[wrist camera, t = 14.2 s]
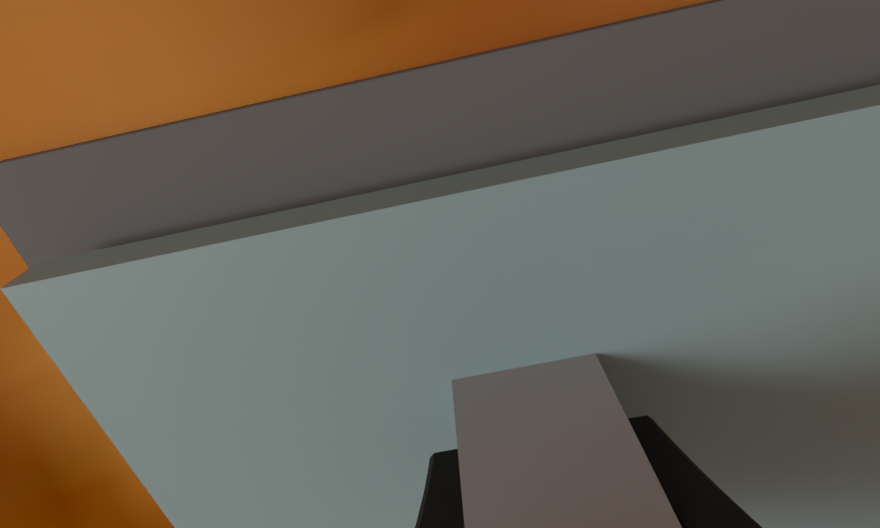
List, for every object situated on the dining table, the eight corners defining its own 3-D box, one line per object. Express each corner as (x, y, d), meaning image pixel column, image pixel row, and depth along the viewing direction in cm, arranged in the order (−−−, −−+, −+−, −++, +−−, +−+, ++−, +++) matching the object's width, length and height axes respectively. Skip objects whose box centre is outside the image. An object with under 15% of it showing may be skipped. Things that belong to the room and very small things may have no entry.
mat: (858, 486, 16) (868, 497, 16) (254, 585, 17) (251, 598, 17) (1011, -68, 9) (1036, -71, 9) (-21, 165, 10) (-37, 171, 10)
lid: (860, 499, 14) (1054, 720, 10) (261, 597, 16) (199, 835, 11) (990, 61, 9) (1556, 126, 4) (37, 262, 10) (-267, 476, 6)
